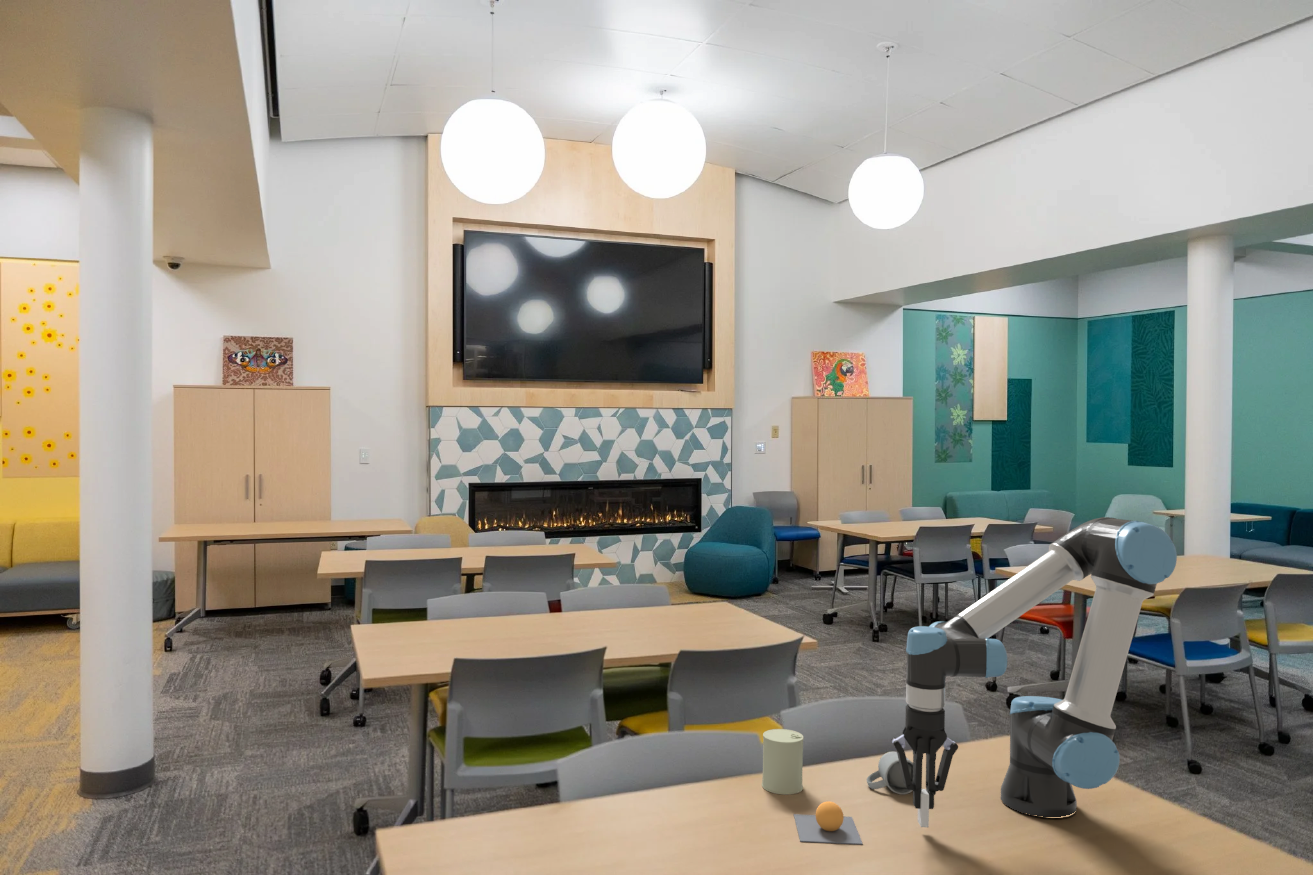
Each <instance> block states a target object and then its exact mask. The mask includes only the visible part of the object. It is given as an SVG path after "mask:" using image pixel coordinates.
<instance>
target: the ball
mask: <svg viewBox="0 0 1313 875" xmlns="http://www.w3.org/2000/svg"><path fill="white" fill-rule="evenodd" d="M815 815H816V820H817V823H818V824H819V826H820V827H821V828H822V829H824V830H826V831H835V830H837V829H839V828H840V827H841V825H842V823H843V819H844V812H843V810H842V808H841V807H840V806H839V804H837V803H836V802H834V801H828V800H827V801H823V802H822V803H820V804H819V805H818V807H817V808H816V809H815Z"/></svg>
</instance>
